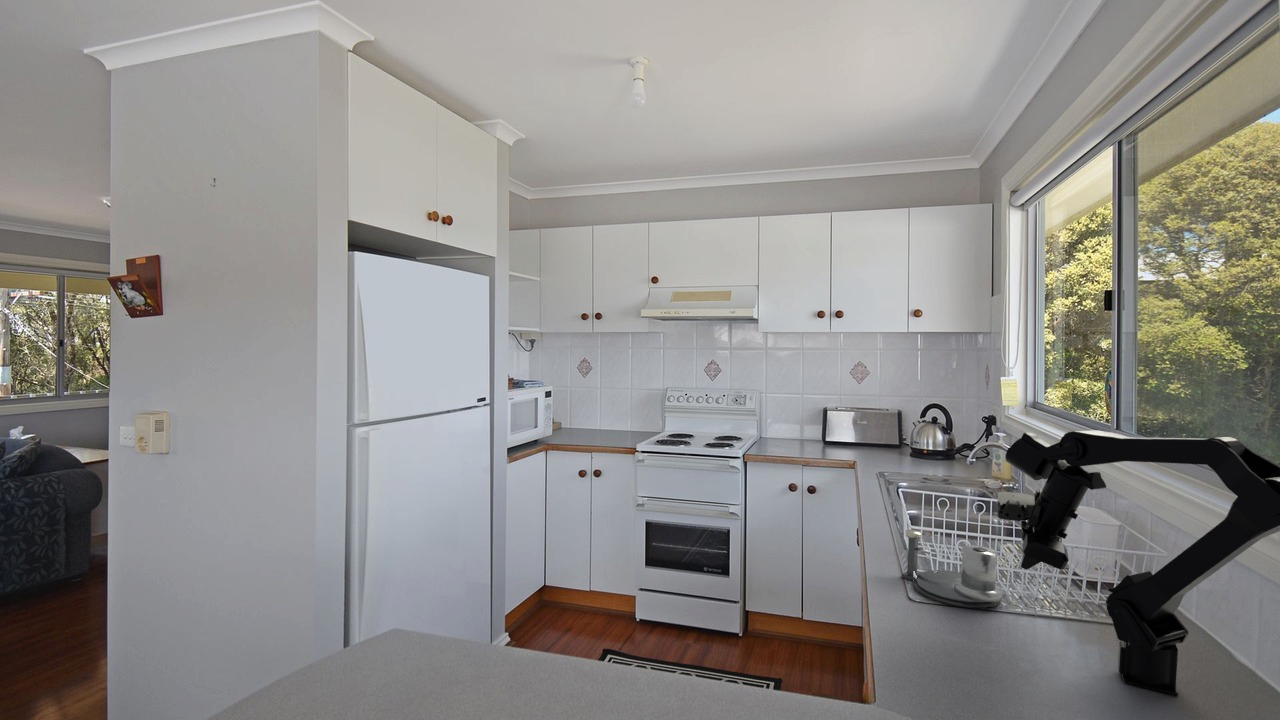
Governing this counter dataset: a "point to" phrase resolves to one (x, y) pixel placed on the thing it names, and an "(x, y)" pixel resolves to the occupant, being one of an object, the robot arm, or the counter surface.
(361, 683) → the counter surface
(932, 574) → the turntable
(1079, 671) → the counter surface
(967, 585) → the cover
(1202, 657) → the counter surface
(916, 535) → the stand
